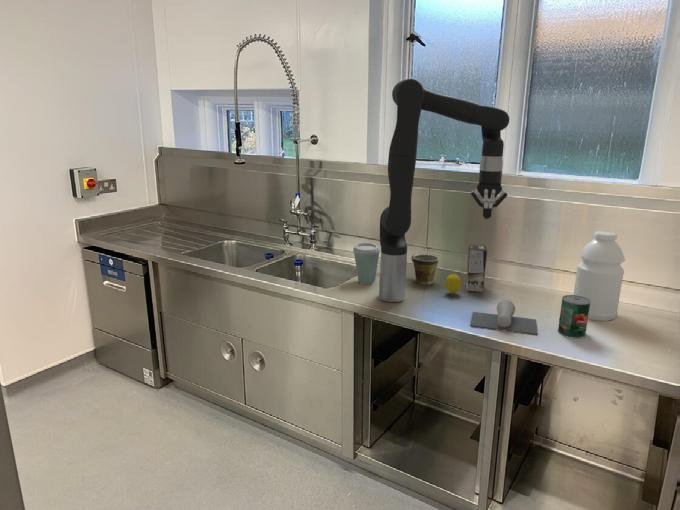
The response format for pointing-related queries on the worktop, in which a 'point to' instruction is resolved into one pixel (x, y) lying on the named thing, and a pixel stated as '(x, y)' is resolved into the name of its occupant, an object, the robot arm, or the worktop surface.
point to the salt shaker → (505, 313)
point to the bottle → (600, 275)
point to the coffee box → (476, 267)
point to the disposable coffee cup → (366, 261)
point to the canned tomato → (574, 316)
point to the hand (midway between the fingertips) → (486, 218)
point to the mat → (491, 322)
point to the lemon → (453, 283)
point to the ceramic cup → (425, 268)
